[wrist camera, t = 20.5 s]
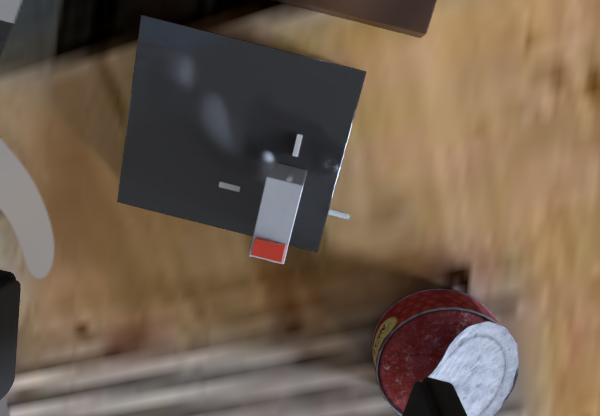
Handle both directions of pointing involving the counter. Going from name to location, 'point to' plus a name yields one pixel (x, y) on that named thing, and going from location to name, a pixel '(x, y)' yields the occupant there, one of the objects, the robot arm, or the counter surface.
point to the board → (377, 12)
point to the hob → (232, 128)
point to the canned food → (445, 350)
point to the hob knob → (277, 213)
